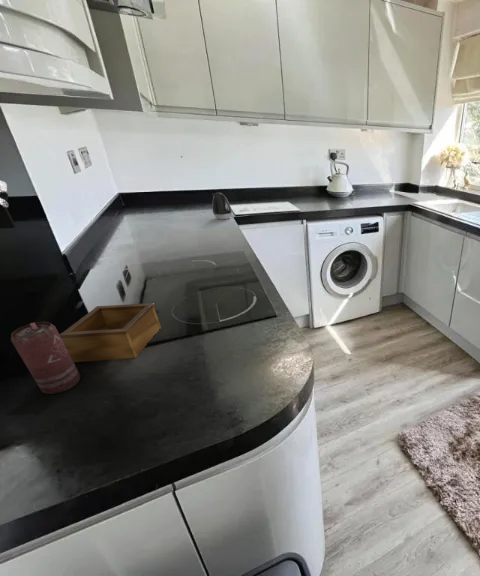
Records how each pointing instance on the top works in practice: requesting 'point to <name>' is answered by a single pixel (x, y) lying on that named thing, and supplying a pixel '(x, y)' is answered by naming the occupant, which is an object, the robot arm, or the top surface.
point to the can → (46, 357)
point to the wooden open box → (111, 332)
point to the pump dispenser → (221, 206)
